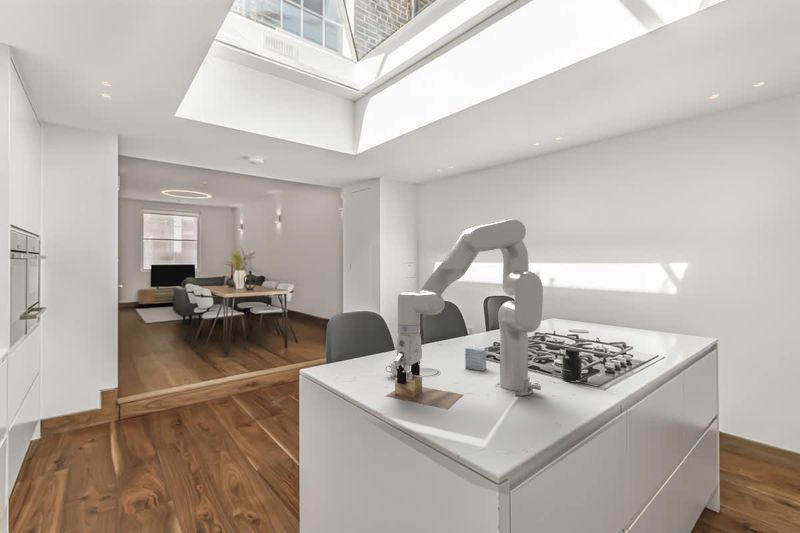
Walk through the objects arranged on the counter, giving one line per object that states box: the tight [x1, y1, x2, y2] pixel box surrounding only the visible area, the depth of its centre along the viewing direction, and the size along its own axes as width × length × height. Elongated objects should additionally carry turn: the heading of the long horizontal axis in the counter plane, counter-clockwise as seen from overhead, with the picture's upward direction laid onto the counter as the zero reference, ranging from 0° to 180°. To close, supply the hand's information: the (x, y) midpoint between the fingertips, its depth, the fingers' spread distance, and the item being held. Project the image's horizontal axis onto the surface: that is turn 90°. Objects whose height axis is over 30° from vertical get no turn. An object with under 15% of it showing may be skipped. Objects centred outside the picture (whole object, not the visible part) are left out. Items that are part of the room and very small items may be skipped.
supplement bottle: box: [561, 347, 583, 382], centre depth 143 cm, size 7×7×12 cm
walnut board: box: [385, 386, 464, 410], centre depth 123 cm, size 22×14×2 cm, turn 61°
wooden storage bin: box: [394, 375, 423, 397], centre depth 126 cm, size 7×7×5 cm
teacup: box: [385, 360, 411, 378], centre depth 149 cm, size 10×8×5 cm
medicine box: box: [464, 346, 487, 372], centre depth 159 cm, size 8×4×9 cm, turn 58°
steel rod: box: [406, 370, 412, 380], centre depth 126 cm, size 2×2×7 cm
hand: (408, 379), depth 126 cm, fingers open, 9 cm apart
